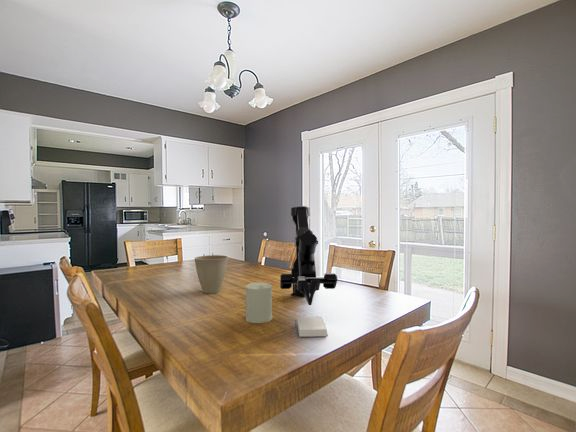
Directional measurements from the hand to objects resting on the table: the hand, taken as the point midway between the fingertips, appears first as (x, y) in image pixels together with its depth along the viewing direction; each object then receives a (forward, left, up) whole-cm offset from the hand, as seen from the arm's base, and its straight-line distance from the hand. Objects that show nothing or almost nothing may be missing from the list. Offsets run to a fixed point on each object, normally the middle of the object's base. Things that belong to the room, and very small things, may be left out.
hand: (310, 304), depth 91 cm
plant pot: (-59, +13, -8) cm, 61 cm away
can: (-19, -2, -8) cm, 20 cm away
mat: (0, 0, -8) cm, 8 cm away
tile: (-2, +2, -6) cm, 6 cm away
